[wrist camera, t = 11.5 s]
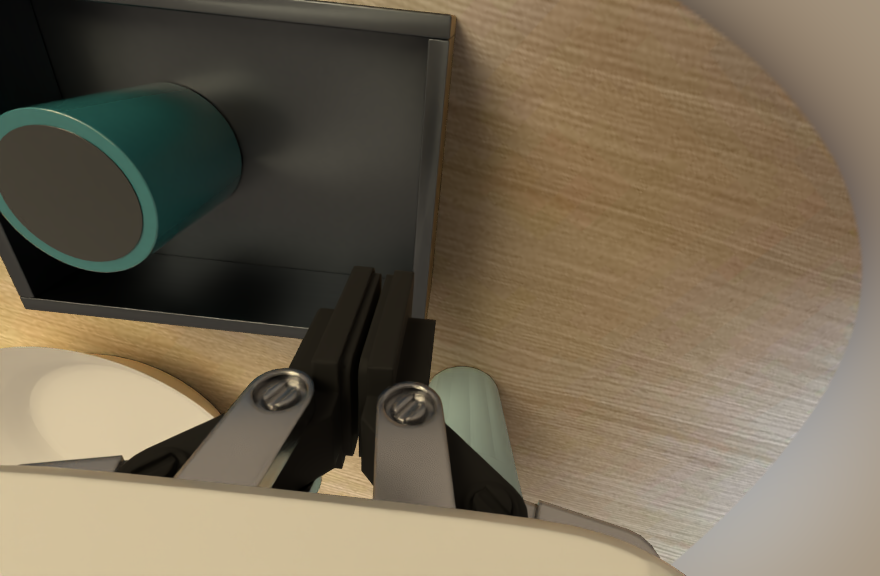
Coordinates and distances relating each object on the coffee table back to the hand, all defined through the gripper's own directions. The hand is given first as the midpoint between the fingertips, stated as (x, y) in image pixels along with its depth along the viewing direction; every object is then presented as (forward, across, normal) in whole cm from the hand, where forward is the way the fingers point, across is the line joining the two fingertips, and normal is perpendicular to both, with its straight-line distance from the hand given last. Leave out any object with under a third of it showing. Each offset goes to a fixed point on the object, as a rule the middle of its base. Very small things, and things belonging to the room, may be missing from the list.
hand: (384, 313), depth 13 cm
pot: (+14, +14, +1) cm, 20 cm away
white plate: (+15, +24, +27) cm, 39 cm away
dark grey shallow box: (+15, +10, +1) cm, 18 cm away
